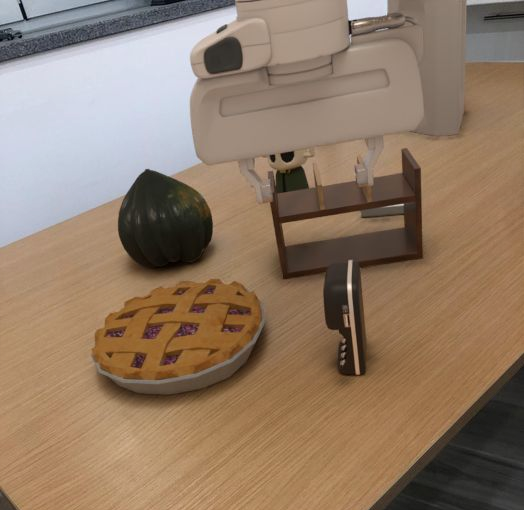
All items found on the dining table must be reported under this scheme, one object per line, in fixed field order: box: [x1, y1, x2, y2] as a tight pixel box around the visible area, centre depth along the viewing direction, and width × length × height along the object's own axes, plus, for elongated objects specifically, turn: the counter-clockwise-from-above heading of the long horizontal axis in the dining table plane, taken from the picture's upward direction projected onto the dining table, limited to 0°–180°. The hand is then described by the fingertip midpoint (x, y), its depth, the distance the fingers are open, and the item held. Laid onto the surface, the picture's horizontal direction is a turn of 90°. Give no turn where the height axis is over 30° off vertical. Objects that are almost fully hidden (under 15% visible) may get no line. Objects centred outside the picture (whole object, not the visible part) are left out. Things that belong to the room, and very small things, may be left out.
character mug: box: [261, 147, 316, 194], centre depth 108 cm, size 11×7×13 cm, turn 62°
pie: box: [90, 278, 266, 396], centre depth 74 cm, size 22×22×5 cm
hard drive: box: [360, 204, 404, 218], centre depth 103 cm, size 2×8×12 cm
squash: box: [117, 168, 214, 268], centre depth 96 cm, size 14×15×15 cm
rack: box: [267, 147, 424, 280], centre depth 86 cm, size 20×9×13 cm, turn 90°
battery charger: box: [322, 260, 367, 376], centre depth 65 cm, size 7×4×11 cm, turn 171°
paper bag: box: [387, 0, 468, 137], centre depth 128 cm, size 19×15×28 cm
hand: (314, 193), depth 57 cm, fingers open, 8 cm apart
